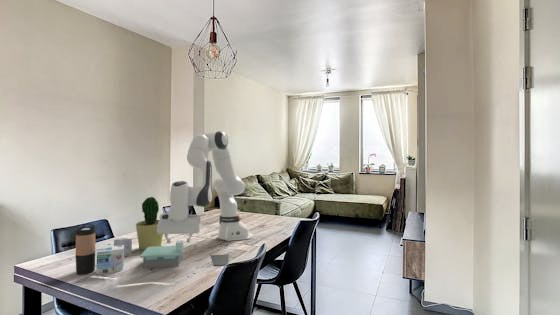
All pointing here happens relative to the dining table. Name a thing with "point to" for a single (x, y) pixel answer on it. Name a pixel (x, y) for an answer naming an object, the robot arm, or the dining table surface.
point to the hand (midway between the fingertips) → (178, 242)
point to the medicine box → (126, 243)
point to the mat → (220, 259)
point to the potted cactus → (149, 225)
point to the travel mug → (85, 250)
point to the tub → (162, 262)
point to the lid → (163, 251)
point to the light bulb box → (110, 259)
